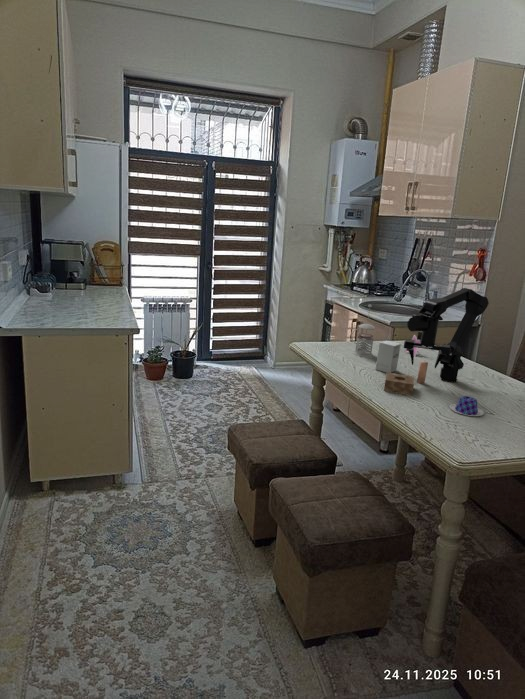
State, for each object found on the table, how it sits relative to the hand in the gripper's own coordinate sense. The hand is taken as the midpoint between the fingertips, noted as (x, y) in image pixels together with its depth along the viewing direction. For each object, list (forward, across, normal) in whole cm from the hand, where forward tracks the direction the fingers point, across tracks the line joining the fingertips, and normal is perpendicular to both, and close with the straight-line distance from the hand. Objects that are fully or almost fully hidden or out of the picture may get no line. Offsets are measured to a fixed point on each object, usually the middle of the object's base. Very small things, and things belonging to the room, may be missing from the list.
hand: (423, 366), depth 226 cm
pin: (+7, 0, 0) cm, 7 cm away
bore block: (+7, +9, +14) cm, 18 cm away
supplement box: (+7, +15, -11) cm, 20 cm away
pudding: (+8, -16, +27) cm, 32 cm away
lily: (+8, +3, -50) cm, 50 cm away
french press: (+7, +28, -33) cm, 44 cm away
